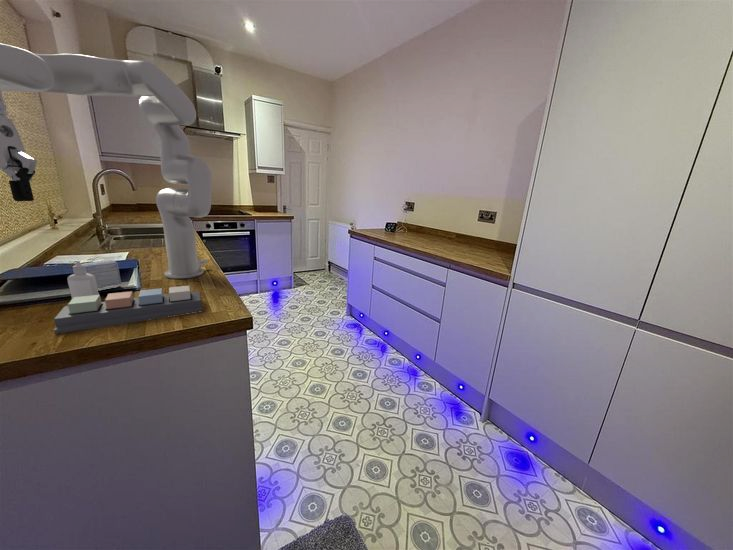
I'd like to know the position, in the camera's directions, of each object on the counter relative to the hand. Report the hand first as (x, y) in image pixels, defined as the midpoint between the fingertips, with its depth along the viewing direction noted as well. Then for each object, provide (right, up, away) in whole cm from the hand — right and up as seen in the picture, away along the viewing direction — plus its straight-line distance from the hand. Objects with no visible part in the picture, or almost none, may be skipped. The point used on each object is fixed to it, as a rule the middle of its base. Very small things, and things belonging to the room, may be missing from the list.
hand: (0, 199), depth 59 cm
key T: (+18, -23, +18) cm, 34 cm away
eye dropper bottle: (-3, -24, +22) cm, 32 cm away
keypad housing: (+15, -26, +17) cm, 35 cm away
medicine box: (-7, -20, +32) cm, 38 cm away
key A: (+23, -22, +22) cm, 39 cm away
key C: (+7, -24, +11) cm, 27 cm away
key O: (+12, -23, +15) cm, 30 cm away
